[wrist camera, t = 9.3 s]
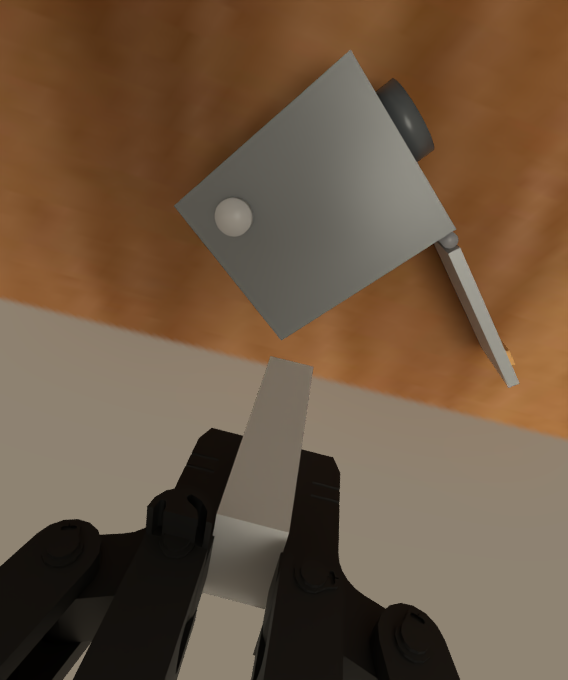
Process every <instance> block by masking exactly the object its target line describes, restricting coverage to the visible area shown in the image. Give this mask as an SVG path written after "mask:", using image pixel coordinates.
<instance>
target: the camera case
mask: <svg viewBox="0 0 568 680" xmlns="http://www.w3.org/2000/svg"><path fill="white" fill-rule="evenodd" d="M433 150H434V144H433V141H432V138H431V135H430V133H429V131H428V128H427V126H426V124H425V122H424V120H423V118H422V117H421V115H420V113H419V111H418V110H417V108H416V106H415V105H414V103H413V101H412V100H411V98H410V97H409V95H408V94H407V92H406V91H405V90H404V88H403V87H402V86H401V85H400V83H399V82H398V81H397V80H395V79H394V78H392V79H391V80H390V81H388V82H387V83H386V84H385V85H383V86H382V87H381V88H380V89H379V90H377V91H376V92H375V91H374V89H373V87H372V85H371V84H370V82H369V80H368V79H367V77H366V75H365V74H364V72H363V70H362V68H361V67H360V65H359V63H358V62H357V60H356V58H355V57H354V55H353V53H352V51H351V50H350V51H349V52H347V53H346V54H345V55H344V56H343V57H342V58H341V59H339V60H338V61H337V62H336V63H335V64H334V65H333V66H332V67H330V68H329V69H328V70H327V71H326V72H325V73H324V74H323V75H321V76H320V77H319V78H318V79H317V80H316V81H315V82H313V83H312V84H311V85H310V86H309V87H308V88H307V89H306V90H304V91H303V92H302V93H301V94H300V95H299V96H298V97H296V98H295V99H294V100H293V101H292V102H291V103H290V104H289V105H287V106H286V107H285V108H284V109H283V110H282V111H281V112H280V113H278V114H277V115H276V116H275V117H274V118H273V119H272V120H270V121H269V122H268V123H267V124H266V125H265V126H264V127H263V128H261V129H260V130H259V131H258V132H257V133H256V134H255V135H253V136H252V137H251V138H250V139H249V140H248V141H247V142H246V143H244V144H243V145H242V146H241V147H240V148H239V149H238V150H237V151H235V152H234V153H233V154H232V155H231V156H230V157H229V158H227V159H226V160H225V161H224V162H223V163H222V164H221V165H220V166H218V167H217V168H216V169H215V170H214V171H213V172H212V173H210V174H209V175H208V176H207V177H206V178H205V179H204V180H203V181H201V182H200V183H199V184H198V185H197V186H196V187H195V188H194V189H192V190H191V191H190V192H189V193H188V194H187V195H186V196H184V197H183V198H182V199H181V200H180V201H179V202H178V203H177V204H175V205H174V207H175V208H176V209H177V210H178V212H179V213H180V214H181V215H182V217H183V218H184V219H185V220H186V222H187V223H188V224H189V225H190V227H191V228H192V229H193V230H194V232H195V233H196V234H197V235H198V237H199V238H200V239H201V240H202V242H203V243H204V244H205V245H206V247H207V248H208V249H209V250H210V252H211V253H212V254H213V255H214V257H215V258H216V259H217V260H218V262H219V263H220V264H221V265H222V267H223V268H224V269H225V270H226V272H227V273H228V274H229V275H230V277H231V278H232V279H233V280H234V282H235V283H236V284H237V286H238V287H239V288H240V289H241V291H242V292H243V293H244V294H245V296H246V297H247V298H248V299H249V301H250V302H251V303H252V304H253V306H254V307H255V308H256V309H257V311H258V312H259V313H260V314H261V316H262V317H263V318H264V319H265V321H266V322H267V323H268V324H269V326H270V327H271V328H272V329H273V331H274V332H275V333H276V334H277V336H278V337H279V338H280V339H281V340H283V339H284V338H286V337H288V336H289V335H291V334H292V333H294V332H295V331H297V330H299V329H300V328H302V327H303V326H305V325H306V324H308V323H310V322H311V321H313V320H314V319H316V318H317V317H319V316H321V315H322V314H324V313H325V312H327V311H328V310H330V309H332V308H333V307H335V306H336V305H338V304H339V303H341V302H343V301H344V300H346V299H347V298H349V297H350V296H352V295H354V294H355V293H357V292H358V291H360V290H361V289H363V288H365V287H366V286H368V285H369V284H371V283H372V282H374V281H376V280H377V279H379V278H380V277H382V276H383V275H385V274H387V273H388V272H390V271H391V270H393V269H394V268H396V267H397V266H399V265H401V264H402V263H404V262H405V261H407V260H408V259H410V258H412V257H413V256H415V255H416V254H418V253H419V252H421V251H423V250H424V249H426V248H427V247H429V246H430V245H432V244H434V243H435V242H437V241H439V242H440V243H441V244H442V245H443V246H444V247H445V248H453V247H455V246H456V245H457V243H458V237H457V235H456V234H455V233H453V232H452V231H454V230H456V228H455V226H454V225H453V223H452V221H451V220H450V218H449V216H448V214H447V213H446V211H445V209H444V208H443V206H442V204H441V203H440V201H439V199H438V197H437V196H436V194H435V192H434V191H433V189H432V187H431V186H430V184H429V182H428V180H427V179H426V177H425V175H424V174H423V172H422V170H421V169H420V167H419V165H418V163H417V162H418V161H419V160H421V159H422V158H423V157H425V156H426V155H427V154H429V153H430V152H432V151H433Z"/></svg>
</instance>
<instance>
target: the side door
mask: <svg viewBox="0 0 568 680" xmlns="http://www.w3.org/2000/svg"><path fill="white" fill-rule="evenodd" d="M434 245H435V247H436V250H437V252H438V254H439V256H440V258H441V260H442V263H443V265H444V267H445V269H446V271H447V274H448V276H449V278H450V280H451V282H452V284H453V287H454V289H455V291H456V293H457V295H458V298H459V300H460V302H461V304H462V306H463V308H464V311H465V313H466V315H467V317H468V319H469V322H470V324H471V326H472V328H473V330H474V332H475V335H476V337H477V339H478V341H479V343H480V346H481V348H482V349H483V351H484V352H485V354H486V355H487V357H488V358H489V360H490V361H491V362H492V364H493V365H494V367H495V368H496V370H497V371H498V373H499V374H500V376H501V377H502V379H503V380H504V382H505V383H506V385H507V386H508V388H509V387H512V386H515V385H517V384H520V383H519V381H518V379H517V377H516V374H515V372H514V370H513V367H512V366H513V365H515V363H514V361H513V358H512V356H511V354H510V351H509V350H508V348H507V347H506V346H505V345H504V343H503V342H502V341H501V340H500V338H499V335H498V333H497V331H496V329H495V326H494V324H493V322H492V319H491V317H490V315H489V313H488V310H487V308H486V306H485V303H484V301H483V299H482V297H481V294H480V292H479V290H478V288H477V285H476V283H475V281H474V278H473V276H472V274H471V272H470V269H469V267H468V265H467V262H466V260H465V258H464V256H463V253H462V251H461V249H460V247H459V246H458V245H456V246H455V247H453V248H445V247H444V246H443V245H442V244H441V243H440V242H439V241H437V242H435V243H434Z"/></svg>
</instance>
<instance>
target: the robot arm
mask: <svg viewBox="0 0 568 680" xmlns="http://www.w3.org/2000/svg"><path fill="white" fill-rule="evenodd" d="M312 373H313V367H312V366H308V365H304V364H300V363H296V362H292V361H288V360H284V359H280V358H276V357H272V356H270V359H269V362H268V365H267V368H266V371H265V374H264V377H263V380H262V383H261V386H260V389H259V391H258V394H257V397H256V400H255V403H254V406H253V409H252V412H251V415H250V418H249V421H248V424H247V427H246V430H245V432H244V435H243V436H241V435H238V434H234V433H230V432H226V431H222V430H218V429H214V428H211V429H210V430H209V431H207V432H206V433H205V434H204V435H202V436H201V437H200V438H199V439H198V441H197V444H196V446H195V448H194V449H193V452H192V455H191V456H190V458H189V460H188V462H187V465H186V466H185V468H184V470H183V472H182V474H181V476H180V478H179V480H178V482H177V485H176V487H175V489H171V490H166V491H164V492H163V493H161V494H159V495H158V496H156V497H155V498H154V499H153V500H152V501H151V503H150V504H149V505H148V506H147V520H146V528H144V529H141V530H138V531H136V532H131V533H124V534H106V535H99V532H98V530H97V529H96V528H95V527H94V526H93V525H92V524H91V523H89V522H85V521H82V520H79V519H74V520H63V521H60V522H57V523H54V524H51V525H49V526H47V527H46V528H44V529H43V530H42V531H40V532H39V533H37V534H36V535H35V536H34V537H33V538H32V539H30V540H29V541H28V542H27V543H26V544H25V545H24V546H23V547H21V548H20V549H19V550H18V551H17V552H16V553H15V554H14V555H12V557H10V558H9V559H8V560H7V561H6V562H5V563H4V564H3V565H1V566H0V680H63V679H64V677H65V676H66V674H68V672H69V671H70V670H71V668H72V667H73V666H74V664H75V663H76V662H77V660H78V659H79V657H80V656H81V655H82V654H83V652H84V651H85V650H86V648H87V647H88V646H89V644H90V643H91V644H90V646H89V648H88V650H87V652H86V655H85V656H84V658H83V661H82V662H81V664H80V666H79V668H78V670H77V672H76V674H75V677H74V678H73V680H177V677H178V674H179V670H180V667H181V664H182V661H183V658H184V654H185V651H186V648H187V644H188V641H189V638H190V635H191V632H192V629H193V625H194V622H195V618H196V612H197V607H198V604H199V601H200V597H201V594H202V593H207V594H210V595H214V596H218V597H221V598H225V599H229V600H233V601H236V602H240V603H244V604H248V605H252V606H255V607H259V608H263V609H265V608H266V609H265V615H264V621H263V625H262V628H261V631H260V635H259V638H258V641H257V644H256V647H255V650H254V653H253V655H255V661H254V666H253V672H252V678H251V680H460V678H459V676H458V673H457V670H456V668H455V665H454V663H453V660H452V657H451V655H450V652H449V650H448V647H447V644H446V642H445V639H444V638H443V636H442V634H441V632H440V630H439V629H438V627H437V626H436V624H435V623H434V622H433V621H432V620H431V619H430V618H429V617H428V616H427V614H426V613H424V612H422V611H421V610H419V609H417V608H416V607H414V606H412V605H407V604H403V603H398V604H394V605H390V606H389V607H388V608H386V609H385V608H384V607H382V606H380V605H379V604H377V603H376V602H374V601H372V600H371V599H369V598H367V597H366V596H364V595H363V594H362V593H360V592H359V591H358V590H356V589H355V588H354V587H353V586H352V584H350V582H349V581H348V580H347V578H346V576H345V575H344V573H343V572H342V569H341V566H340V563H339V556H338V543H339V498H340V497H339V496H340V492H339V489H340V472H339V469H338V467H337V465H336V463H335V461H334V458H333V457H329V456H325V455H321V454H317V453H313V452H310V451H306V450H302V449H301V447H302V441H303V434H304V427H305V421H306V414H307V406H308V400H309V393H310V386H311V379H312Z"/></svg>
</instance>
